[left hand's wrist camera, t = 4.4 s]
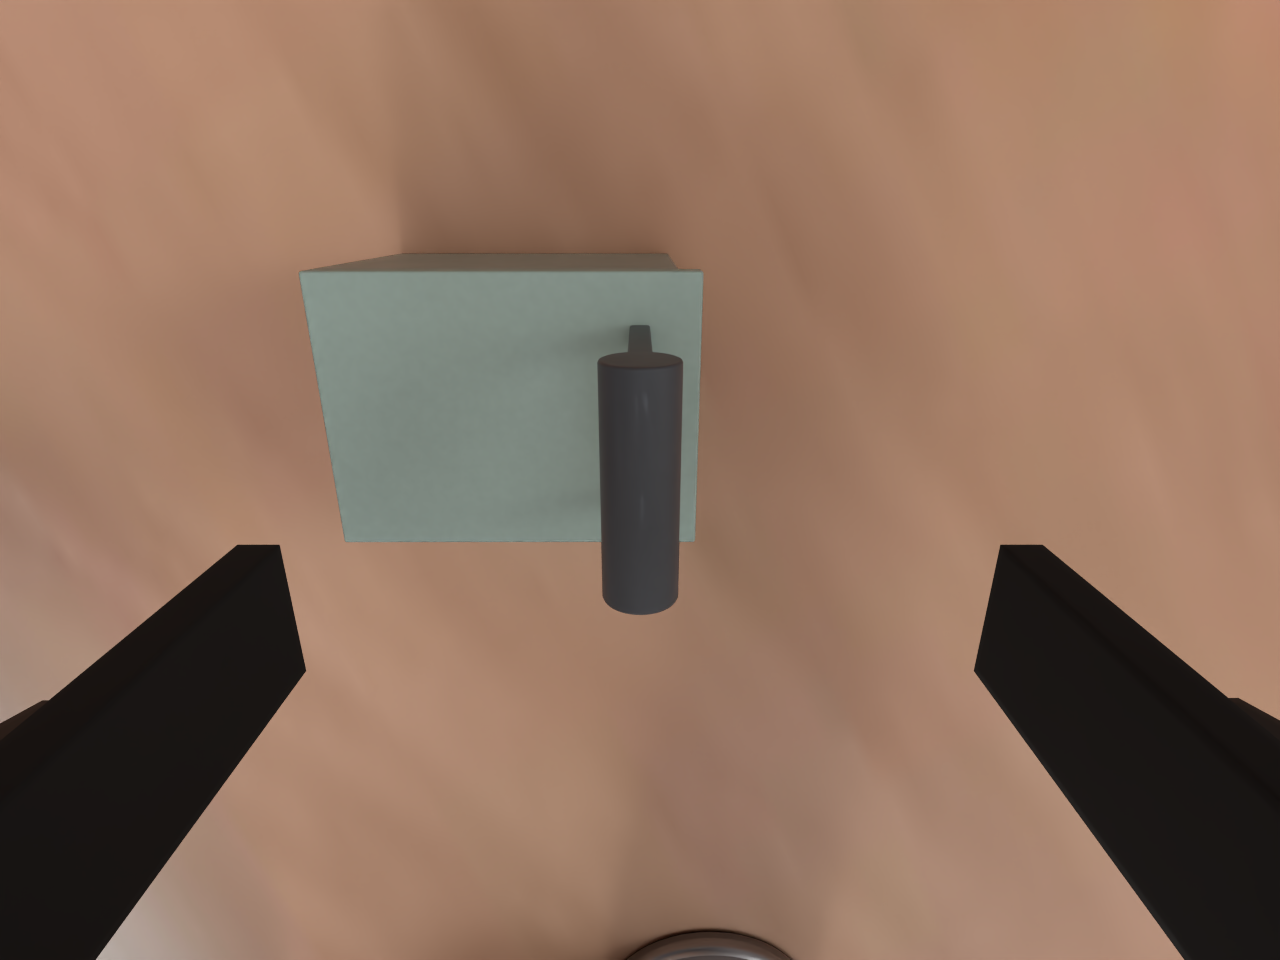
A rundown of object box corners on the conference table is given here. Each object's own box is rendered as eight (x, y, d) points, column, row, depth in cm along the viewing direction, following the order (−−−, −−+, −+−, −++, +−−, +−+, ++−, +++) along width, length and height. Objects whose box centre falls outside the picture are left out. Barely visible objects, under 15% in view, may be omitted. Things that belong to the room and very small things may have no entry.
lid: (701, 268, 24) (733, 297, 16) (693, 532, 27) (716, 665, 19) (310, 269, 24) (140, 298, 16) (353, 532, 27) (234, 666, 19)
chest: (668, 253, 33) (679, 268, 24) (665, 452, 36) (673, 531, 27) (400, 253, 33) (310, 268, 24) (424, 453, 36) (354, 531, 27)
